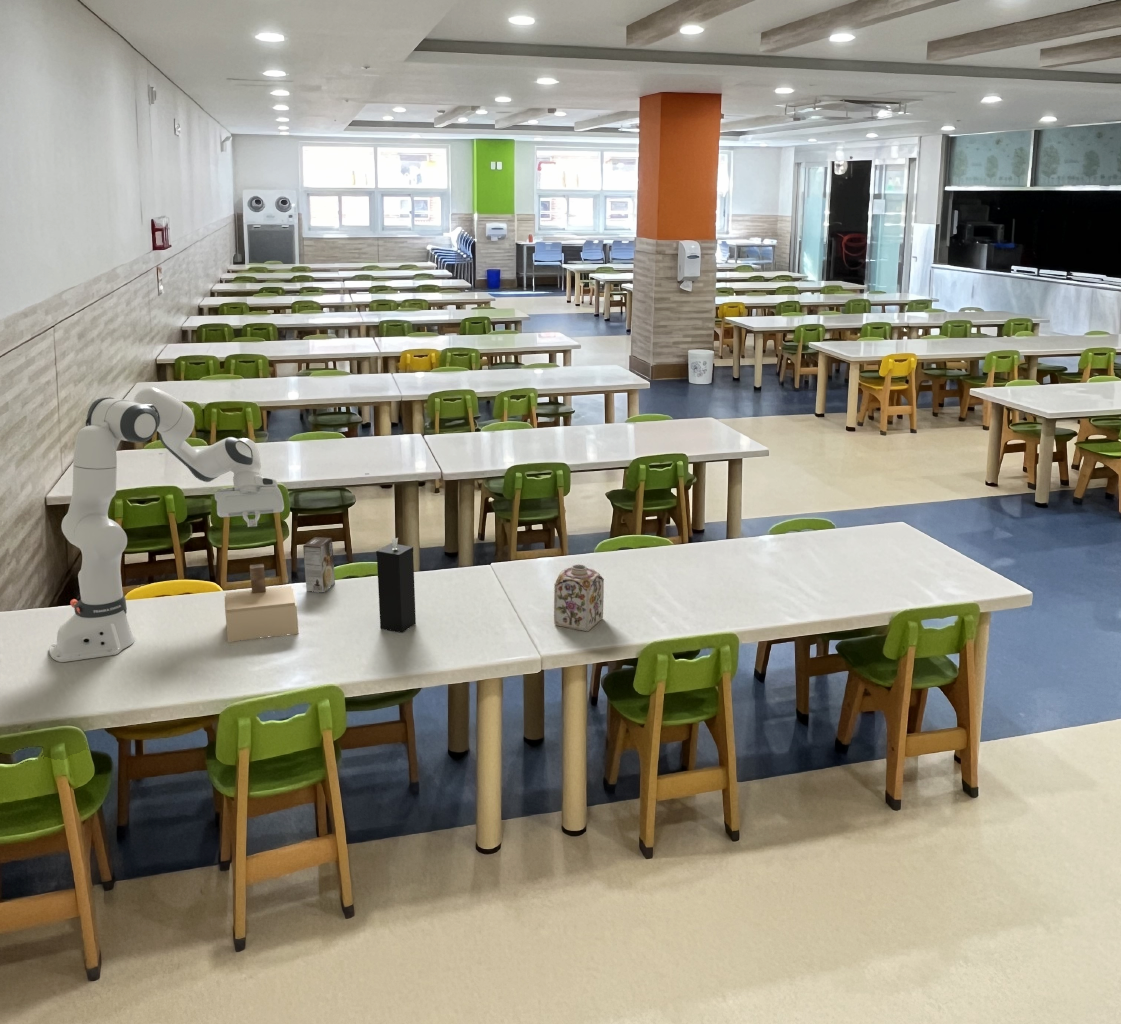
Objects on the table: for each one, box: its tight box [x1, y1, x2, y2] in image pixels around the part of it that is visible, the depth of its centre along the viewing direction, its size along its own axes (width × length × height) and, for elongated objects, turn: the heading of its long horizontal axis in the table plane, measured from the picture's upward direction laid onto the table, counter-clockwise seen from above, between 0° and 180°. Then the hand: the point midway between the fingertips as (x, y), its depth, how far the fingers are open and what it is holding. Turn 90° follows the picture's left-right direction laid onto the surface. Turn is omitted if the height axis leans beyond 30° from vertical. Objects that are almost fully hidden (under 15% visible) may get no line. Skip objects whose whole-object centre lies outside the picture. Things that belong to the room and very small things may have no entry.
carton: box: [223, 588, 299, 643], centre depth 321 cm, size 20×14×9 cm
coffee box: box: [302, 536, 336, 593], centre depth 352 cm, size 9×6×16 cm
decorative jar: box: [553, 563, 605, 632], centre depth 325 cm, size 12×12×18 cm
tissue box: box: [375, 537, 417, 634], centre depth 320 cm, size 8×8×28 cm
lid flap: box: [225, 563, 296, 613], centre depth 318 cm, size 19×14×9 cm
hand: (252, 525), depth 333 cm, fingers closed
